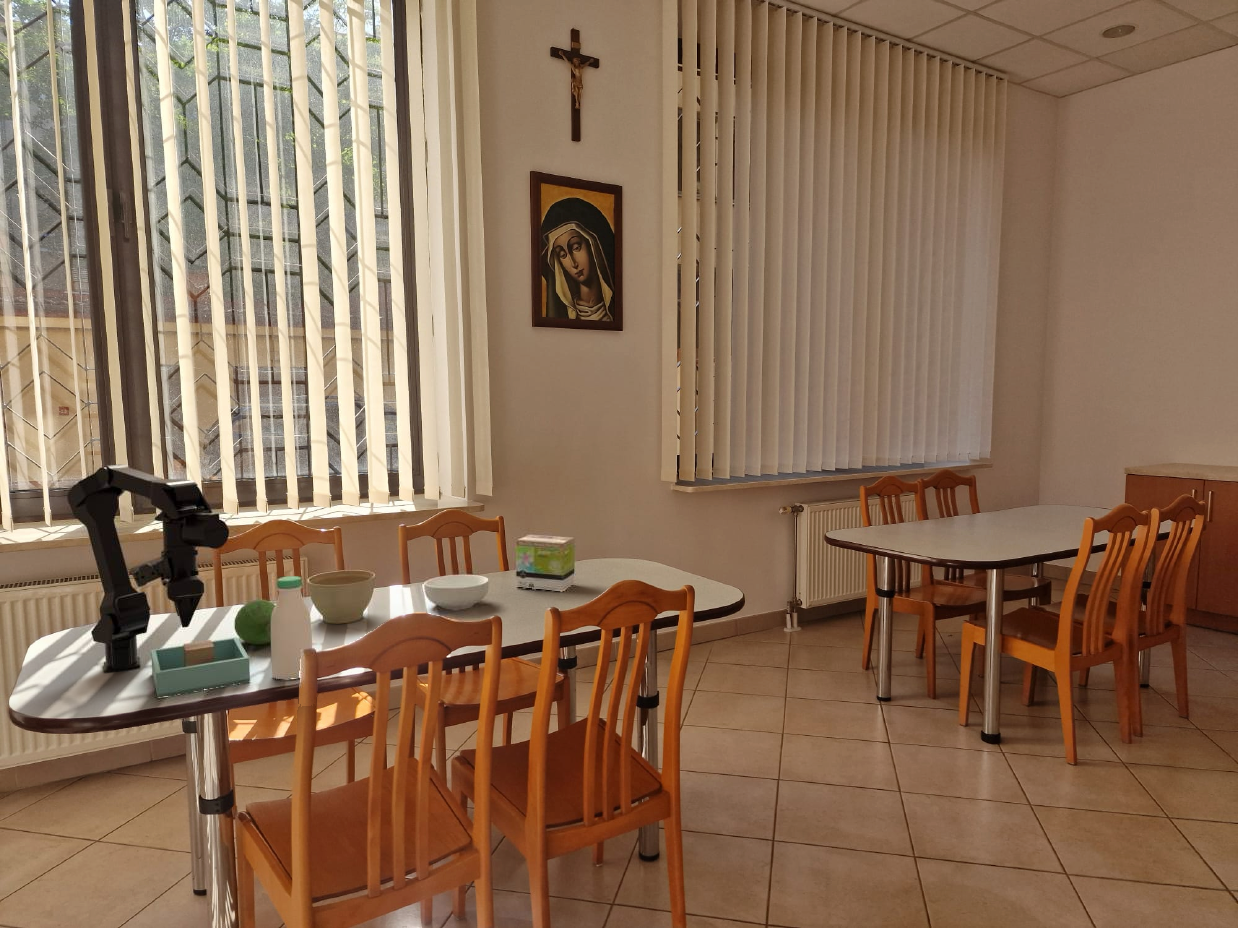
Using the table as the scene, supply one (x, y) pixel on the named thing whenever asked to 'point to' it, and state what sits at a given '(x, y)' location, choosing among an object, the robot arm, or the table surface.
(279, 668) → the milk bottle
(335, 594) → the planter bowl
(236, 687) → the table surface
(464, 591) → the cereal bowl
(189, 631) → the table surface
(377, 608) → the table surface
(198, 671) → the teal bin
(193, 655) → the walnut block
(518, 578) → the tea box
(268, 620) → the fruit
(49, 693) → the table surface
